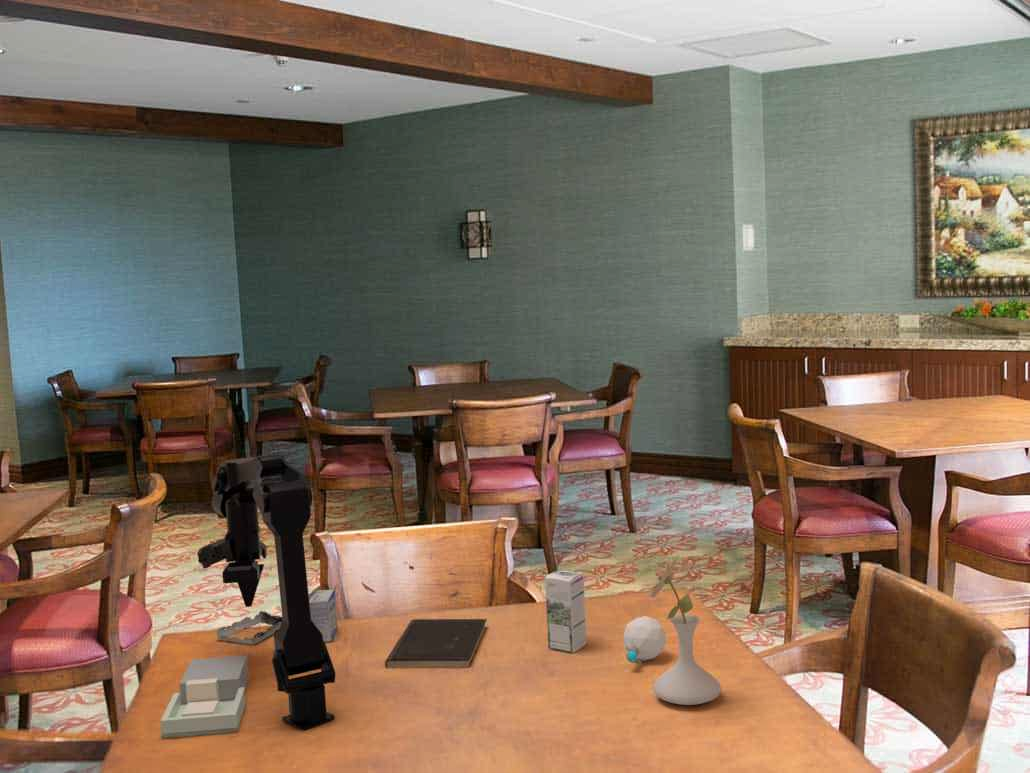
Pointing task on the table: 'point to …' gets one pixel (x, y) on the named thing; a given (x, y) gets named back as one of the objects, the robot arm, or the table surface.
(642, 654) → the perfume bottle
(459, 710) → the table surface
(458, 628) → the hardcover book
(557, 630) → the syrup box
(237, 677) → the grey rounded box
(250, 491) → the robot arm
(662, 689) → the flower in vase
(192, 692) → the rear tile
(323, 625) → the medicine box
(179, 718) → the box
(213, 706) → the front tile
